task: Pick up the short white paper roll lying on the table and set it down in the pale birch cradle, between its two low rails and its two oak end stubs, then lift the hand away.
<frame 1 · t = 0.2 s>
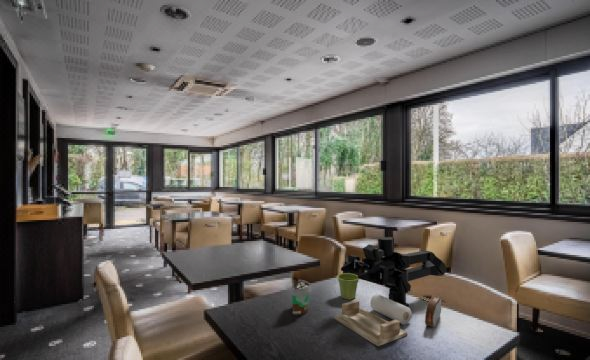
hand: (349, 273, 112), 17 cm above the table, tool horizontal, fingers open, 9 cm apart
holder: (368, 326, 106), on the table
tin: (433, 322, 110), on the table
paper roll: (389, 316, 114), on the table
food container: (303, 311, 118), on the table
plant pot: (348, 297, 133), on the table
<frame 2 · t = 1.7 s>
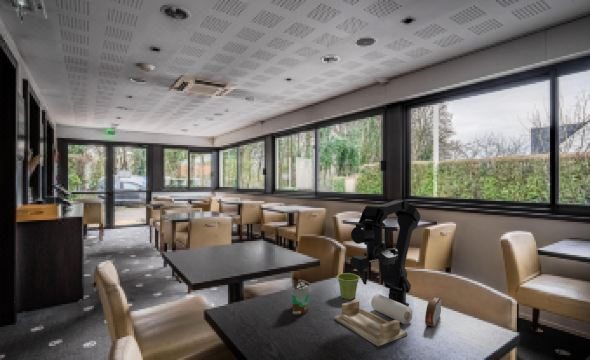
hand: (374, 282, 114), 12 cm above the table, tool pointing down, fingers open, 9 cm apart
paper roll: (389, 316, 114), on the table, tilted 10°
everything else where it was.
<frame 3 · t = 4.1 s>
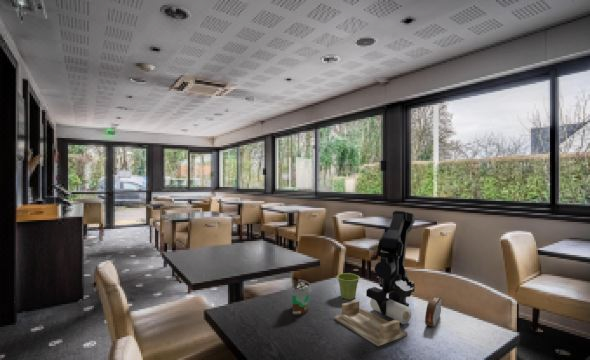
hand: (389, 313, 114), 1 cm above the table, tool pointing down, fingers closed on paper roll, 6 cm apart
paper roll: (389, 316, 114), on the table, touching gripper
everything else where it was.
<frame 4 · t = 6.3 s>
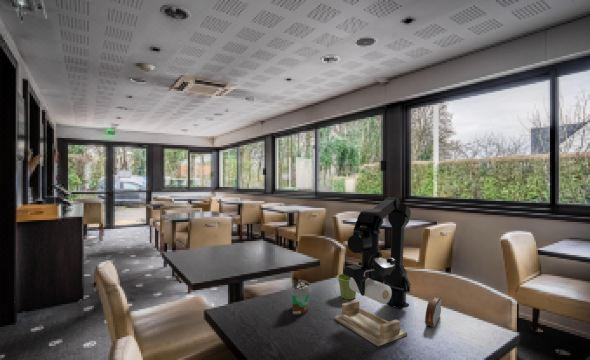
hand: (369, 293, 106), 11 cm above the table, tool pointing down, fingers closed on paper roll, 6 cm apart
paper roll: (369, 296, 106), point 10 cm above the table, touching gripper
everything else where it was.
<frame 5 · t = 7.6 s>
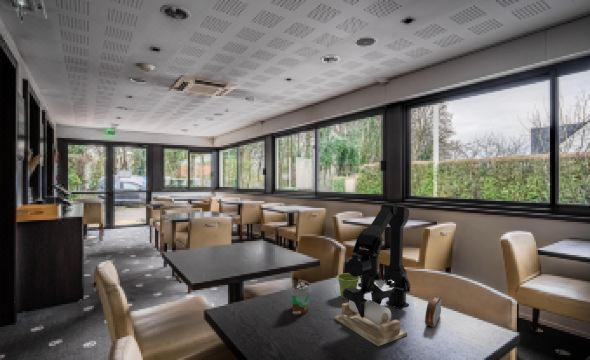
hand: (369, 315, 106), 4 cm above the table, tool pointing down, fingers closed on paper roll, 6 cm apart
paper roll: (368, 318, 106), point 3 cm above the table, touching gripper
everything else where it was.
when the fingers open (3 cm above the table, at t = 8.6 s): paper roll drops 2 cm, resting on holder.
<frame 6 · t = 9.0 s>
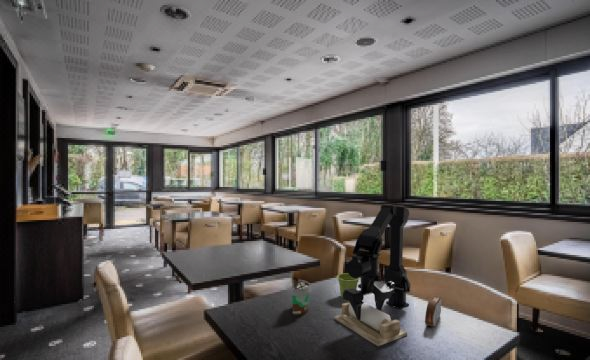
hand: (368, 316, 106), 3 cm above the table, tool pointing down, fingers open, 9 cm apart
paper roll: (368, 323, 106), point 1 cm above the table, touching holder
everything else where it was.
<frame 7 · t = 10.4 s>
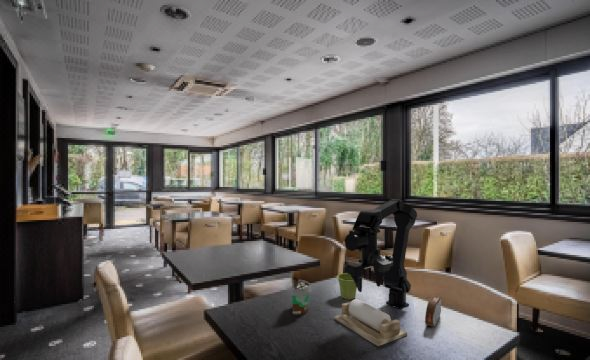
hand: (369, 289, 112), 11 cm above the table, tool pointing down, fingers open, 9 cm apart
nothing on the table moved.
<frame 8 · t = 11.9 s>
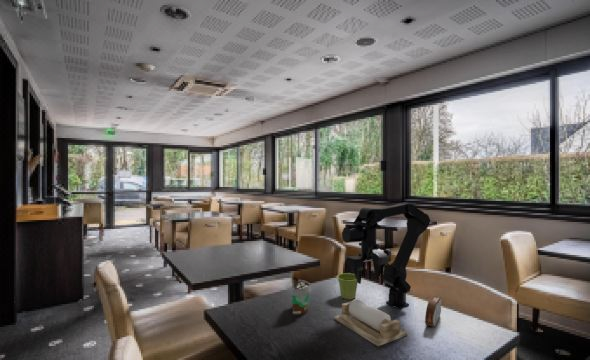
hand: (368, 281, 119), 11 cm above the table, tool pointing down, fingers open, 9 cm apart
nothing on the table moved.
at the end: paper roll 0.0 cm off-centre on the holder, point 1.0 cm above the holder's base; the gripper is holding nothing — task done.
